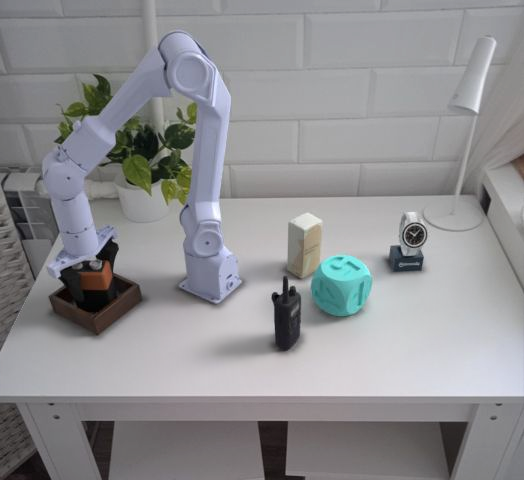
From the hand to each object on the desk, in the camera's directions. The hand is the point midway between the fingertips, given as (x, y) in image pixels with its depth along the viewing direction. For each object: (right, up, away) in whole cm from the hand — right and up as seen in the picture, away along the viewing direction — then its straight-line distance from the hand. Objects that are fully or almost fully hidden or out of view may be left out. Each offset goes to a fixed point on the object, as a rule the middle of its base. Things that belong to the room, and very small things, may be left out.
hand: (93, 288), depth 112 cm
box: (+39, +5, +10) cm, 40 cm away
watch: (+59, +5, +10) cm, 60 cm away
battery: (0, -3, +3) cm, 4 cm away
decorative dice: (+45, -3, +2) cm, 45 cm away
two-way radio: (+34, -10, -5) cm, 36 cm away
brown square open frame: (0, -3, +3) cm, 4 cm away
